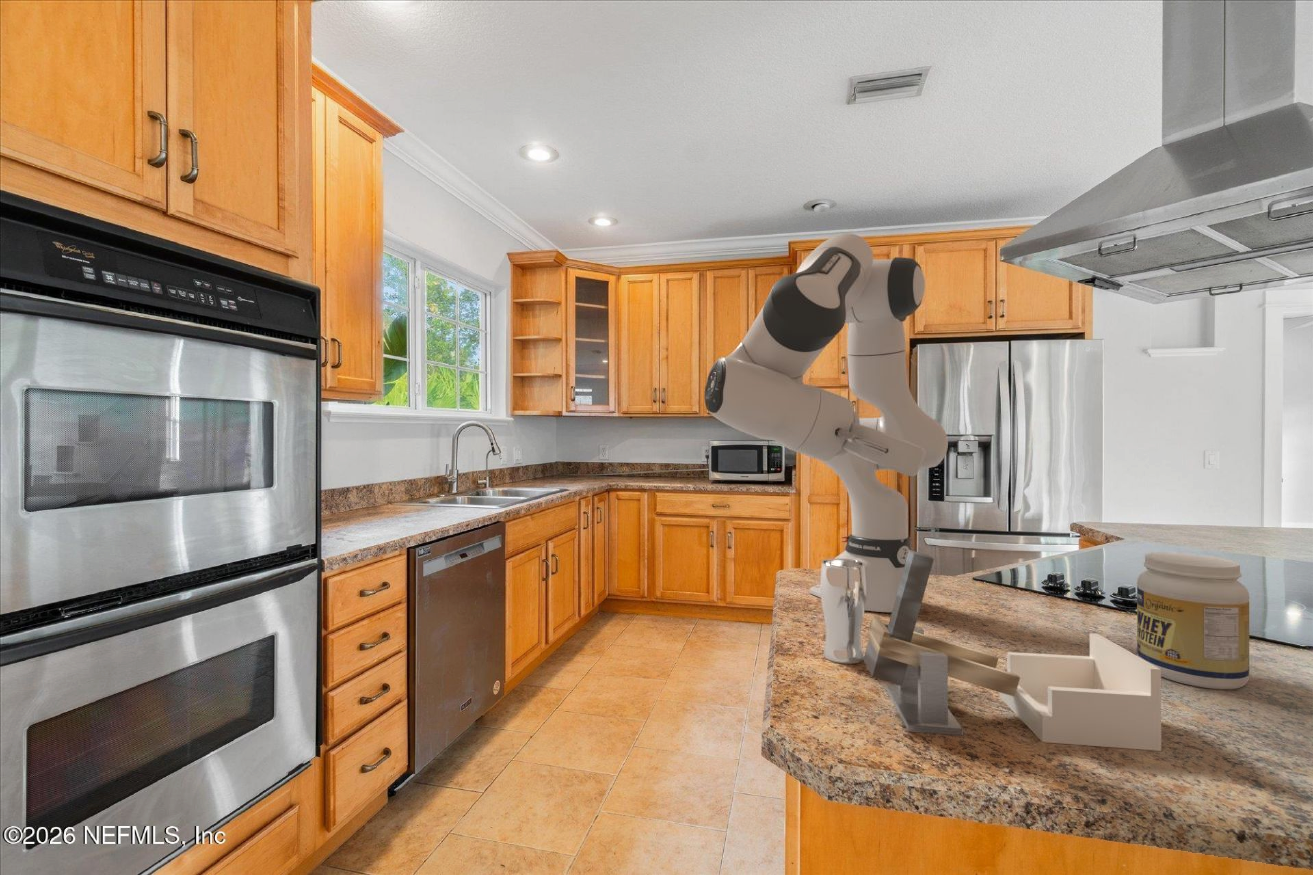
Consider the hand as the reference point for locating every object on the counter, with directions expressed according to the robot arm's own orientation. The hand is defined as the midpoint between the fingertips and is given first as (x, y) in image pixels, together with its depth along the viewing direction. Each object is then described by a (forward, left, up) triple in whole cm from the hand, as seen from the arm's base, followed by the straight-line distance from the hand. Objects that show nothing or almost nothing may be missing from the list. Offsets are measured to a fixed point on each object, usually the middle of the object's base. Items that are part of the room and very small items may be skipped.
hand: (916, 461), depth 79 cm
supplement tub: (+16, +41, -32) cm, 54 cm away
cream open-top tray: (+14, +10, -32) cm, 36 cm away
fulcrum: (+3, -3, -32) cm, 32 cm away
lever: (+3, -2, -28) cm, 29 cm away
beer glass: (-15, +3, -32) cm, 35 cm away
